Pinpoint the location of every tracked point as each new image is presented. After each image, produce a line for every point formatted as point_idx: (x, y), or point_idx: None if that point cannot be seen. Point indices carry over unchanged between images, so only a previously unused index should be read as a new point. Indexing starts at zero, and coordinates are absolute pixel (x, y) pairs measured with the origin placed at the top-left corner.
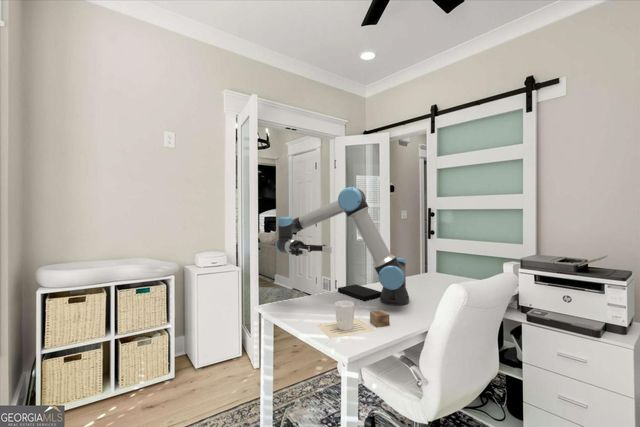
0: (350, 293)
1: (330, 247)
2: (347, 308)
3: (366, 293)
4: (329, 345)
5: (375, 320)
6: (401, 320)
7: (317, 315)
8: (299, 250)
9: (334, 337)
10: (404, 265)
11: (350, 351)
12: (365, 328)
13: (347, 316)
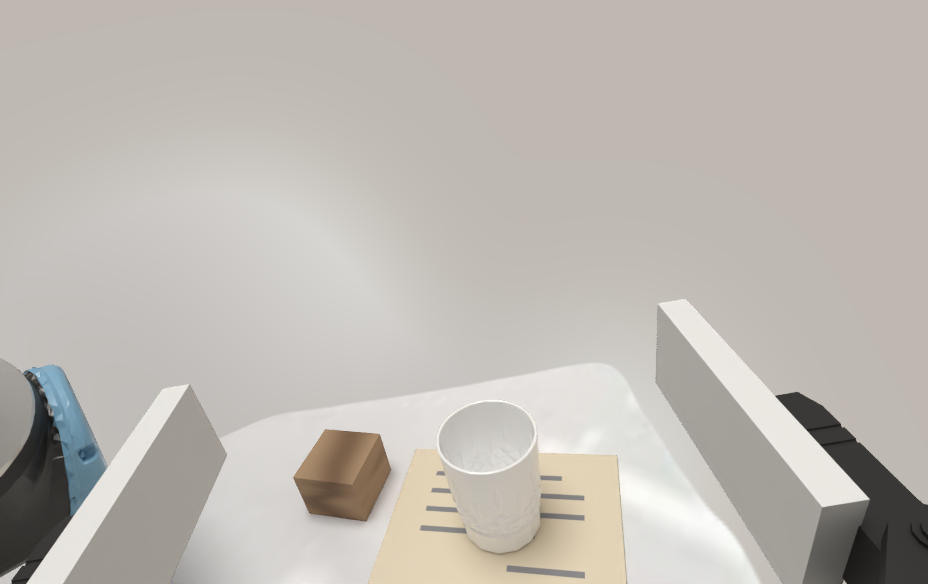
0: None
1: (188, 387)
2: (502, 407)
3: None
4: (637, 421)
5: (381, 456)
6: (250, 487)
7: None
8: (829, 451)
9: (595, 456)
10: None
11: (587, 376)
12: (434, 476)
13: (506, 437)
